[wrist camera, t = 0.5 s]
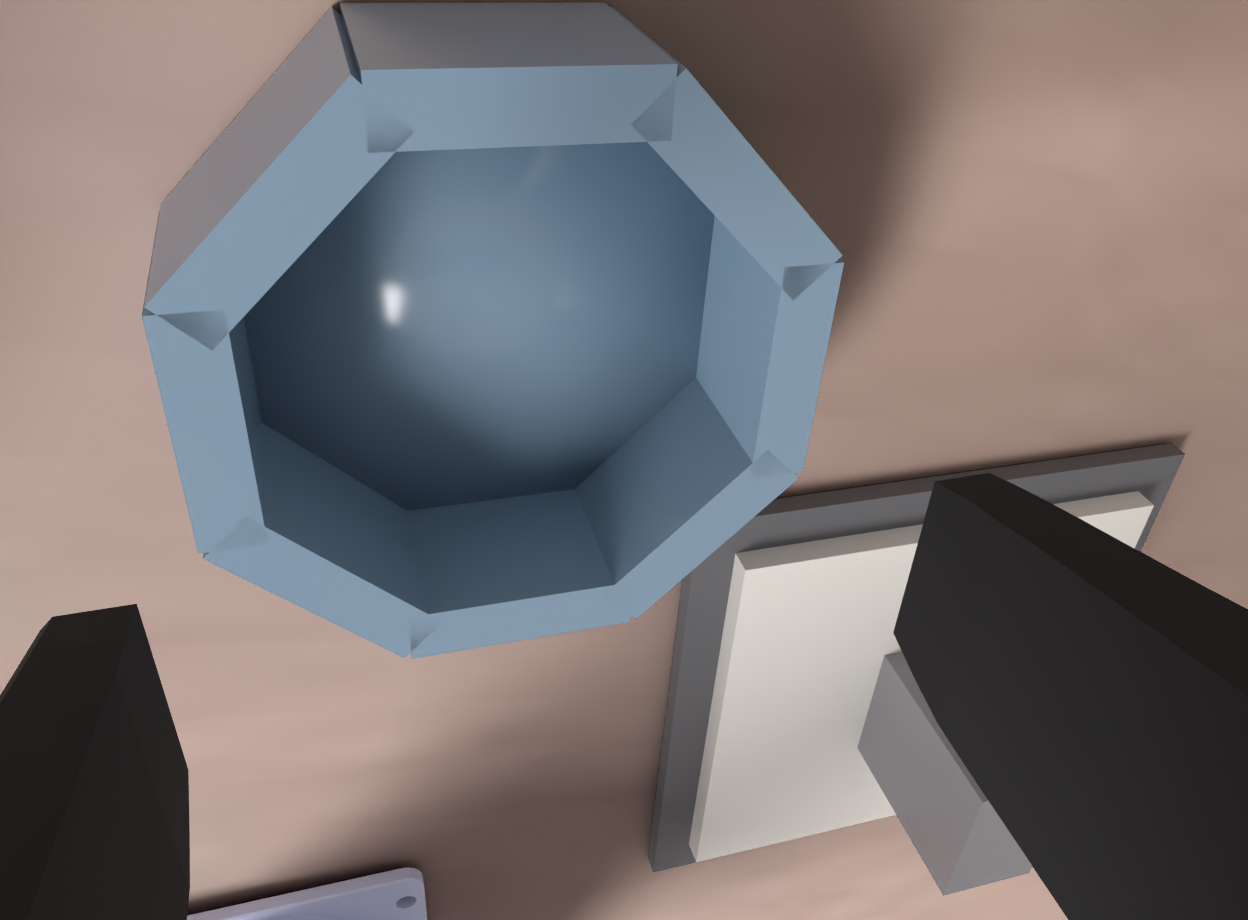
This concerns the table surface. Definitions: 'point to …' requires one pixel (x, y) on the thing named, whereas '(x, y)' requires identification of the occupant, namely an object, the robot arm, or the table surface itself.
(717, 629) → the mat
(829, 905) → the table surface
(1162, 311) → the table surface
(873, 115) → the table surface
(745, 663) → the lid
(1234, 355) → the table surface
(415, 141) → the bowl
